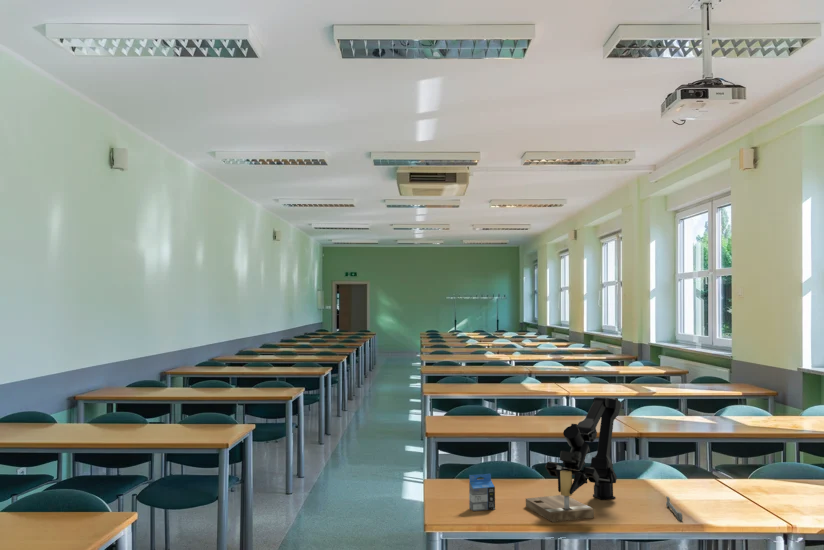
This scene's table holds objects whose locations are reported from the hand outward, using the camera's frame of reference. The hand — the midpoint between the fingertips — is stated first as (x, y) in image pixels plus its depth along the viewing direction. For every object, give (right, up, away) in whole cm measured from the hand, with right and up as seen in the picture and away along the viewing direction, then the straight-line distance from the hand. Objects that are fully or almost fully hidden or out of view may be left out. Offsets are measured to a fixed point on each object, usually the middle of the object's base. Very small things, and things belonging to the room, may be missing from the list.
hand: (564, 492), depth 238 cm
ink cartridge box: (-28, -10, +12) cm, 32 cm away
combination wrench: (+40, -9, +5) cm, 42 cm away
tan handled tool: (+1, -7, +1) cm, 7 cm away
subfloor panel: (0, -9, +7) cm, 12 cm away
